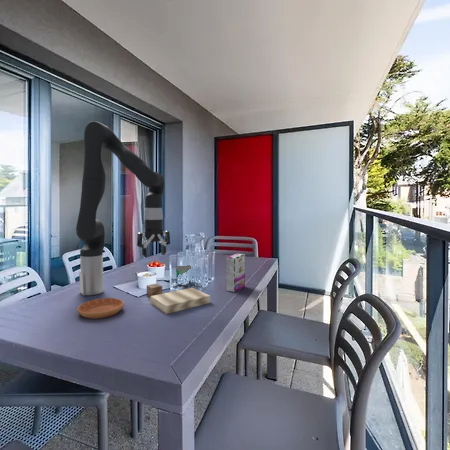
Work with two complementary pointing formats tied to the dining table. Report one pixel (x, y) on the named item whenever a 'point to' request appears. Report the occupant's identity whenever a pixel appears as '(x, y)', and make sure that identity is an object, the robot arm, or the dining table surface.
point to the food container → (182, 269)
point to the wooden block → (179, 300)
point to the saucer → (100, 308)
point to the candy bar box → (235, 272)
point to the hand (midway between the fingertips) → (154, 255)
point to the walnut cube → (154, 290)
